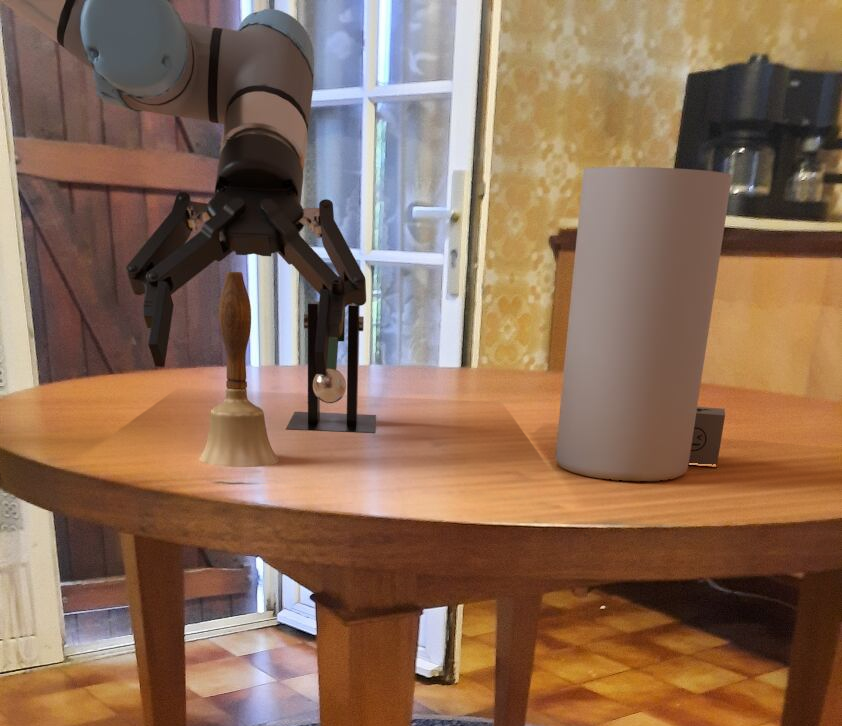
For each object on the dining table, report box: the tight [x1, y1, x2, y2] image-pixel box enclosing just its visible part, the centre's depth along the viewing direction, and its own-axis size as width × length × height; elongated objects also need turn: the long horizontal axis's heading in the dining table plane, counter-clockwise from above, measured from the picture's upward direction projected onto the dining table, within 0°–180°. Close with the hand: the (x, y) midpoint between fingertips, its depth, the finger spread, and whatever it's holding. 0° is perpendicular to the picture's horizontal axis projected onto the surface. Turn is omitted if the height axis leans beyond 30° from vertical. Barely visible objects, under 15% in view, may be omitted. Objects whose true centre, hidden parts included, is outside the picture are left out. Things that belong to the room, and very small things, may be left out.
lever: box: [313, 308, 347, 404], centre depth 105 cm, size 13×3×3 cm, turn 1°
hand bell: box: [198, 271, 279, 484], centre depth 89 cm, size 8×8×16 cm
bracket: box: [285, 300, 377, 434], centre depth 110 cm, size 12×9×13 cm
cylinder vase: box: [554, 166, 733, 482], centre depth 96 cm, size 12×12×25 cm
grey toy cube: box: [689, 406, 726, 466], centre depth 107 cm, size 5×5×5 cm
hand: (238, 360), depth 88 cm, fingers open, 13 cm apart
